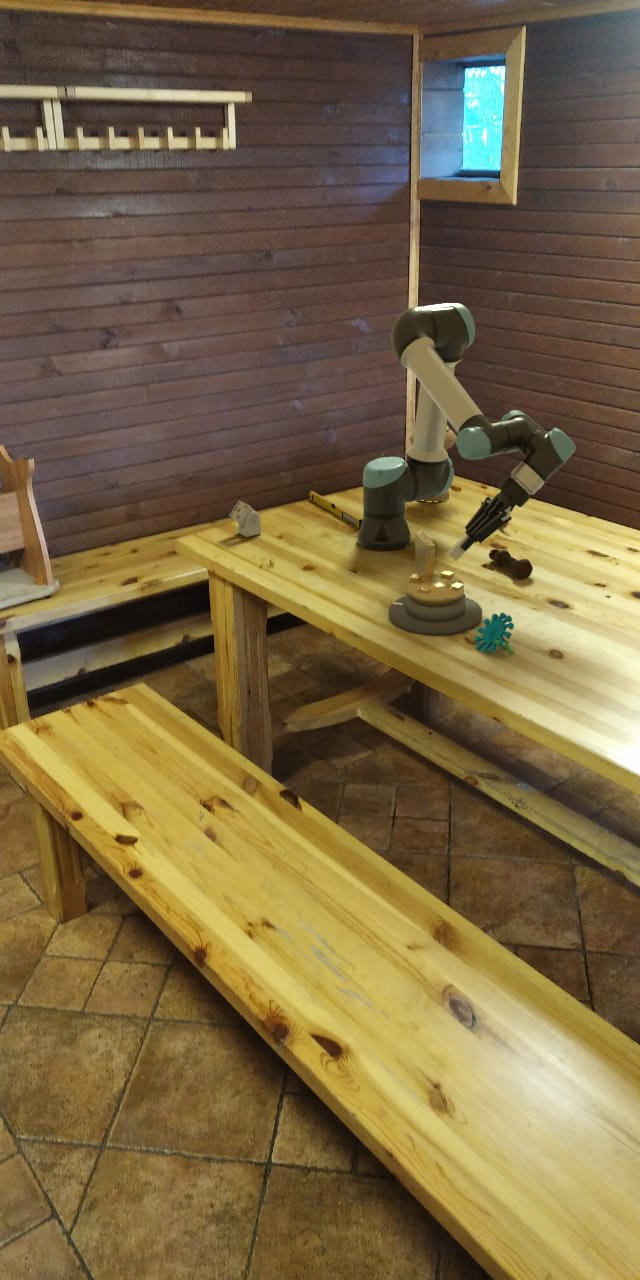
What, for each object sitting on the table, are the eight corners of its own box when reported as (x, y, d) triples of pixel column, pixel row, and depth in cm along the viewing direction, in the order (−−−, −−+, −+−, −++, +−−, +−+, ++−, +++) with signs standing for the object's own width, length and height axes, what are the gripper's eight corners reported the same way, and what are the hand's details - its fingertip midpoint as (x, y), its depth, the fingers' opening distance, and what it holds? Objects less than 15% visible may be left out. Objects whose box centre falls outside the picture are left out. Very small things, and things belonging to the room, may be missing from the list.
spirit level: (309, 499, 317) (309, 491, 316) (313, 499, 318) (312, 490, 316) (359, 529, 290) (359, 520, 289) (363, 528, 291) (363, 519, 289)
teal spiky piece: (466, 633, 220) (499, 602, 217) (482, 646, 223) (515, 616, 220) (484, 660, 211) (518, 629, 208) (500, 674, 214) (534, 643, 211)
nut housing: (370, 613, 235) (370, 594, 233) (438, 590, 246) (438, 571, 244) (431, 644, 219) (432, 624, 217) (501, 618, 230) (502, 599, 228)
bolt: (495, 566, 265) (525, 583, 252) (481, 560, 263) (511, 577, 250) (505, 547, 264) (536, 563, 251) (491, 540, 262) (522, 557, 249)
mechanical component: (262, 534, 288) (260, 501, 283) (239, 540, 284) (236, 507, 280) (252, 529, 292) (250, 497, 287) (230, 535, 288) (227, 502, 284)
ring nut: (470, 603, 226) (472, 560, 221) (416, 609, 224) (416, 565, 219) (444, 569, 245) (445, 529, 240) (393, 574, 243) (393, 533, 238)
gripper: (540, 503, 230) (469, 575, 235) (520, 487, 241) (453, 557, 246) (520, 483, 227) (449, 557, 232) (501, 468, 238) (433, 539, 243)
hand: (451, 557), depth 239 cm, fingers closed
